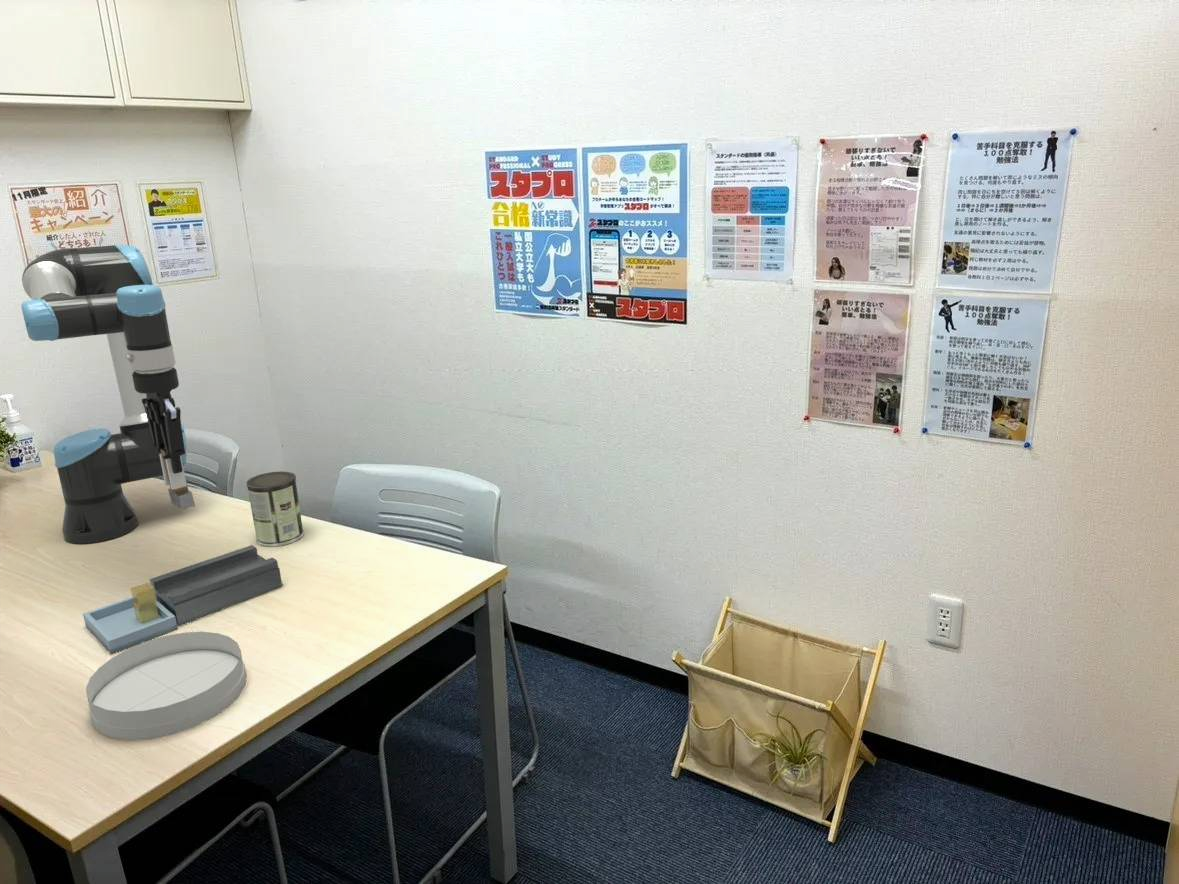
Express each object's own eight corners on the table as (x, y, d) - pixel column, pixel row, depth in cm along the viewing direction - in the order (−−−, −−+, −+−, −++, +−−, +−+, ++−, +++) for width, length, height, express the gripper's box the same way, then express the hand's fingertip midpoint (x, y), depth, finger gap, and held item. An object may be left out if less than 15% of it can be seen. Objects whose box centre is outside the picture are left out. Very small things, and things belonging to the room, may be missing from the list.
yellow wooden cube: (153, 611, 152) (136, 617, 150) (150, 597, 151) (132, 603, 149) (159, 617, 150) (141, 623, 148) (156, 602, 149) (138, 609, 147)
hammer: (171, 502, 164) (156, 447, 160) (184, 498, 166) (170, 443, 161) (182, 510, 160) (167, 453, 156) (195, 505, 162) (180, 449, 158)
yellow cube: (133, 603, 149) (130, 588, 148) (151, 597, 151) (148, 582, 151) (139, 608, 147) (136, 593, 146) (157, 602, 149) (154, 587, 149)
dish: (63, 709, 126) (56, 681, 125) (197, 643, 143) (192, 618, 142) (140, 761, 114) (133, 731, 113) (275, 682, 132) (271, 655, 130)
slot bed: (154, 604, 157) (148, 578, 155) (254, 568, 170) (251, 544, 169) (178, 625, 149) (172, 598, 147) (282, 586, 162) (278, 561, 161)
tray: (85, 625, 149) (82, 613, 149) (149, 603, 157) (146, 591, 156) (111, 654, 140) (108, 641, 139) (177, 628, 148) (175, 616, 147)
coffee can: (274, 526, 191) (265, 469, 187) (312, 530, 189) (305, 472, 184) (245, 544, 182) (235, 485, 177) (285, 549, 179) (276, 489, 175)
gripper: (118, 366, 156) (142, 481, 164) (147, 379, 146) (170, 501, 154) (159, 359, 161) (180, 471, 169) (190, 371, 151) (211, 489, 159)
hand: (176, 485), depth 161 cm, fingers closed on hammer, 2 cm apart
